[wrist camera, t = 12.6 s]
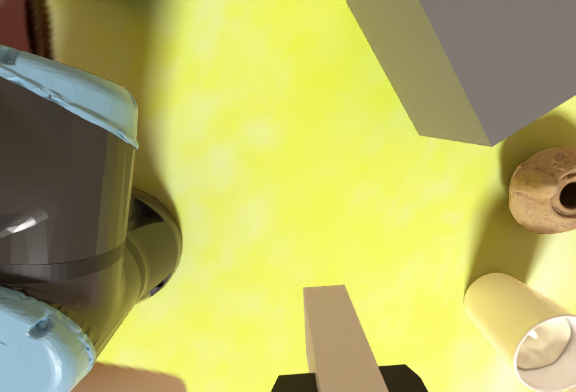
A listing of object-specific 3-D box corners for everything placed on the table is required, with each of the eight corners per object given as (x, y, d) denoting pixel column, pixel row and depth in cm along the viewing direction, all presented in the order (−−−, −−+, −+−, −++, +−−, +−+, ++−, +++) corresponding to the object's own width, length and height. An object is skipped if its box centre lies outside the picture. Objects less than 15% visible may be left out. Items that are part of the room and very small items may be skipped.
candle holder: (481, 256, 48) (548, 301, 36) (538, 283, 49) (620, 335, 38) (444, 313, 50) (497, 374, 38) (500, 338, 51) (567, 404, 40)
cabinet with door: (419, 135, 44) (496, 147, 29) (346, 2, 40) (391, -66, 25) (562, 44, 42) (725, 5, 27) (500, -105, 38) (651, -250, 23)
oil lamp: (589, 227, 48) (651, 249, 40) (483, 224, 47) (525, 246, 39) (610, 147, 45) (680, 154, 37) (498, 142, 44) (546, 148, 37)
